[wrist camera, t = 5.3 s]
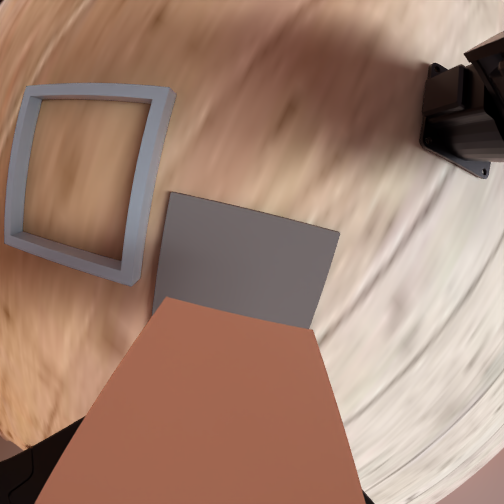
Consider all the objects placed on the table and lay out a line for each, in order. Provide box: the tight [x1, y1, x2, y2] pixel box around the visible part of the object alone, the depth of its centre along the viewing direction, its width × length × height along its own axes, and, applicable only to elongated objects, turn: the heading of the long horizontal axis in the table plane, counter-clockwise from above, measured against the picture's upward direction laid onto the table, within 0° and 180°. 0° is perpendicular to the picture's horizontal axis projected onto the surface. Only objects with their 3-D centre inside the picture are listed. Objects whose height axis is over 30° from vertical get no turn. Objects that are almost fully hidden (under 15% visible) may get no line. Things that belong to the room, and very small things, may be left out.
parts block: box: [35, 297, 366, 504], centre depth 6 cm, size 5×5×9 cm
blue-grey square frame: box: [4, 83, 177, 287], centre depth 16 cm, size 12×12×2 cm
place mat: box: [152, 192, 340, 329], centre depth 18 cm, size 10×10×1 cm
